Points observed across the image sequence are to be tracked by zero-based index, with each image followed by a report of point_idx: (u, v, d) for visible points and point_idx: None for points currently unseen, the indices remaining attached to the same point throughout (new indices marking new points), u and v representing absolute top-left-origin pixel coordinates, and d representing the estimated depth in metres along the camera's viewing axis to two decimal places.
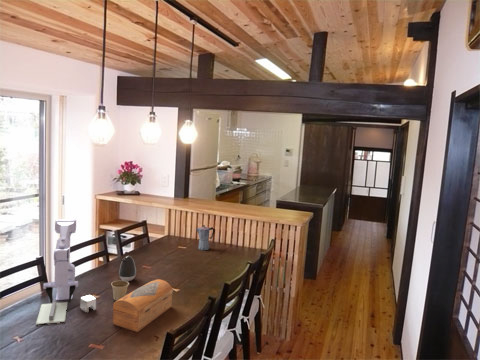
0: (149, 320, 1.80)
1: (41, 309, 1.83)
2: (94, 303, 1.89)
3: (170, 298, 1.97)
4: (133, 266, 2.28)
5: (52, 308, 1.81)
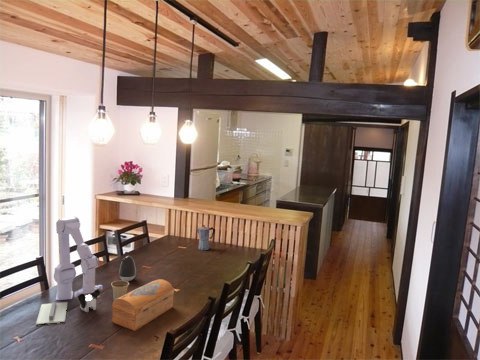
0: (148, 319, 1.81)
1: (41, 309, 1.83)
2: (94, 303, 1.89)
3: (171, 298, 1.97)
4: (133, 266, 2.28)
5: (52, 308, 1.81)
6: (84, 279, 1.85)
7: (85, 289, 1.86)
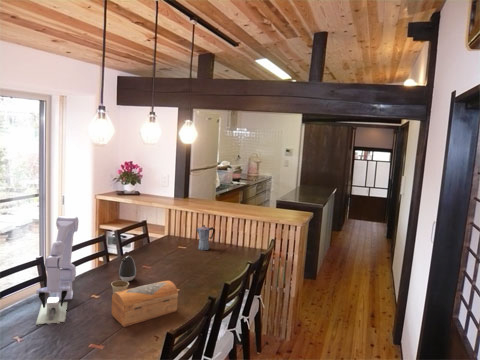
0: (141, 318, 1.81)
1: (41, 309, 1.83)
2: (56, 306, 1.80)
3: (174, 302, 1.93)
4: (133, 266, 2.28)
5: (52, 308, 1.81)
6: None
7: (47, 288, 1.79)
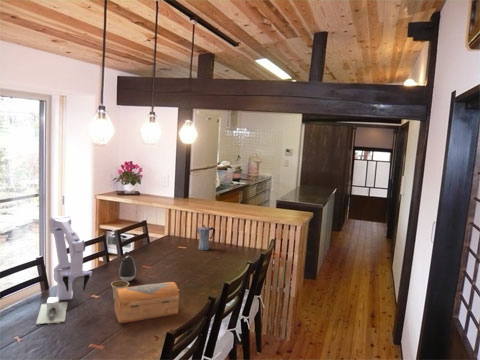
0: (138, 317, 1.82)
1: (41, 309, 1.83)
2: (56, 306, 1.80)
3: (175, 304, 1.91)
4: (133, 266, 2.28)
5: (52, 308, 1.81)
6: (71, 262, 1.85)
7: (70, 272, 1.86)
